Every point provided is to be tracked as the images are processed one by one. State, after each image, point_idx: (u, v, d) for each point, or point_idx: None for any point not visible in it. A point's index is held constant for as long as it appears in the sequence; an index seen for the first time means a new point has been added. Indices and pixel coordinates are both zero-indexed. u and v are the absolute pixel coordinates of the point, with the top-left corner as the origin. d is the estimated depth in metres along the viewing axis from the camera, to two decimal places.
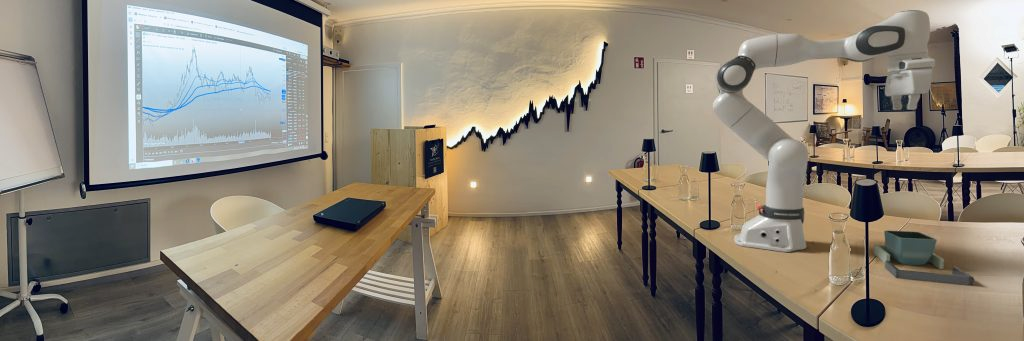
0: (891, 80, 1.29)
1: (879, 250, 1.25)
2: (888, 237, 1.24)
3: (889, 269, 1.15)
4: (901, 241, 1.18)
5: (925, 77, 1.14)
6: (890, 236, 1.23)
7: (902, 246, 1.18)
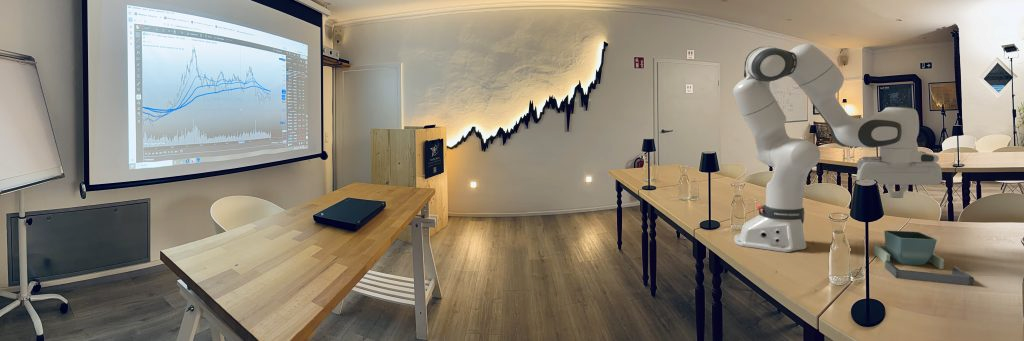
0: (875, 169, 1.30)
1: (879, 250, 1.25)
2: (888, 237, 1.24)
3: (889, 269, 1.15)
4: (901, 241, 1.18)
5: None
6: (890, 236, 1.22)
7: (902, 246, 1.18)
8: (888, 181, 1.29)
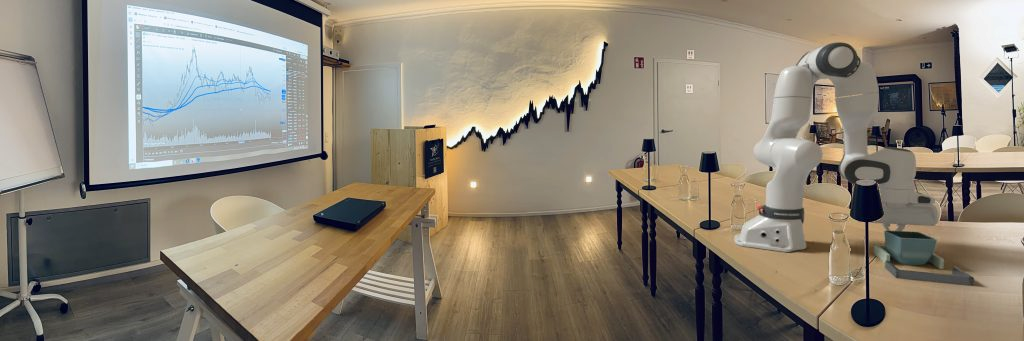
0: None
1: (879, 250, 1.25)
2: (888, 237, 1.24)
3: (889, 269, 1.15)
4: (901, 241, 1.18)
5: None
6: (890, 236, 1.23)
7: (902, 246, 1.18)
8: (885, 220, 1.31)
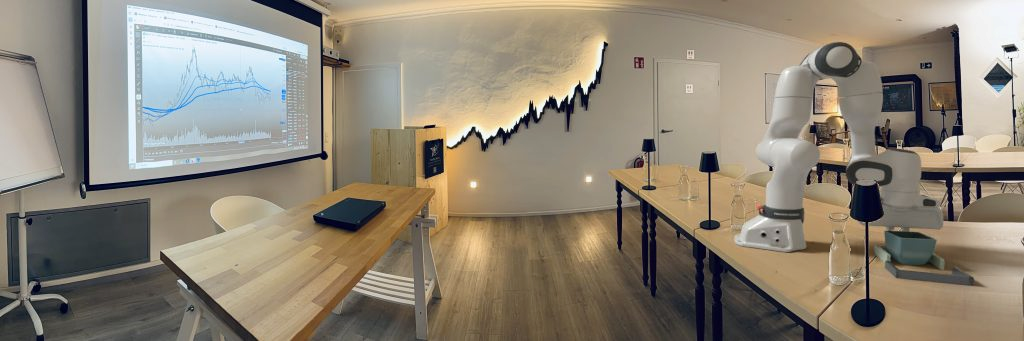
0: None
1: (879, 250, 1.25)
2: (888, 237, 1.24)
3: (889, 269, 1.15)
4: (901, 241, 1.18)
5: None
6: (890, 236, 1.23)
7: (902, 246, 1.18)
8: (889, 224, 1.28)
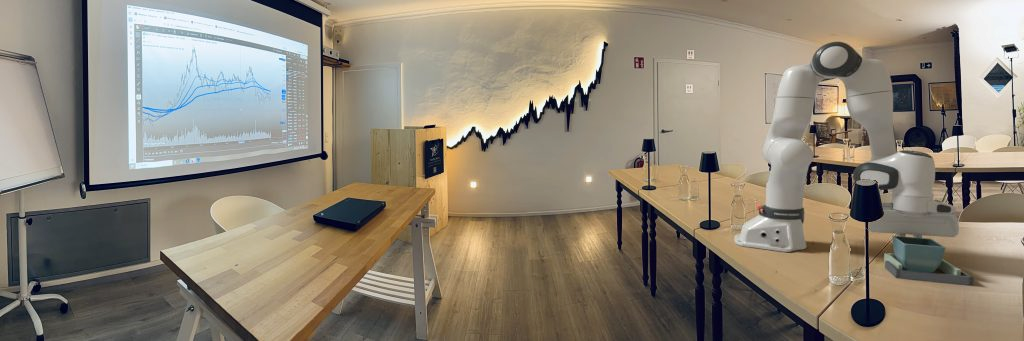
0: (887, 217, 1.21)
1: (890, 259, 1.17)
2: (895, 243, 1.18)
3: (889, 269, 1.15)
4: (905, 247, 1.13)
5: None
6: (897, 242, 1.17)
7: (907, 253, 1.13)
8: (900, 230, 1.20)
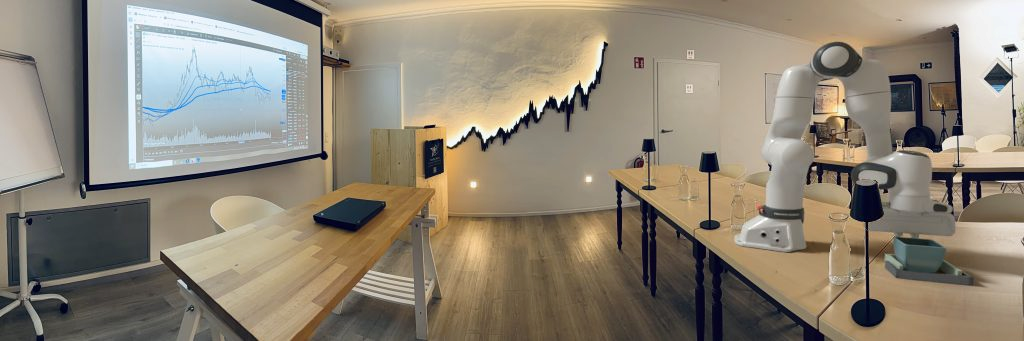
0: (884, 216, 1.23)
1: (891, 260, 1.17)
2: (896, 243, 1.17)
3: (889, 269, 1.15)
4: (906, 248, 1.12)
5: None
6: (897, 242, 1.16)
7: (908, 254, 1.12)
8: (897, 229, 1.21)
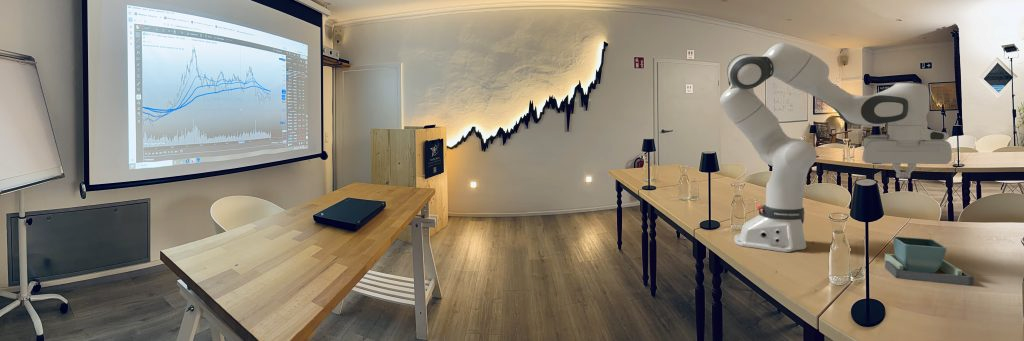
0: (882, 148, 1.26)
1: (891, 260, 1.17)
2: (896, 243, 1.17)
3: (889, 269, 1.15)
4: (906, 248, 1.12)
5: None
6: (897, 242, 1.16)
7: (908, 254, 1.12)
8: (895, 160, 1.25)
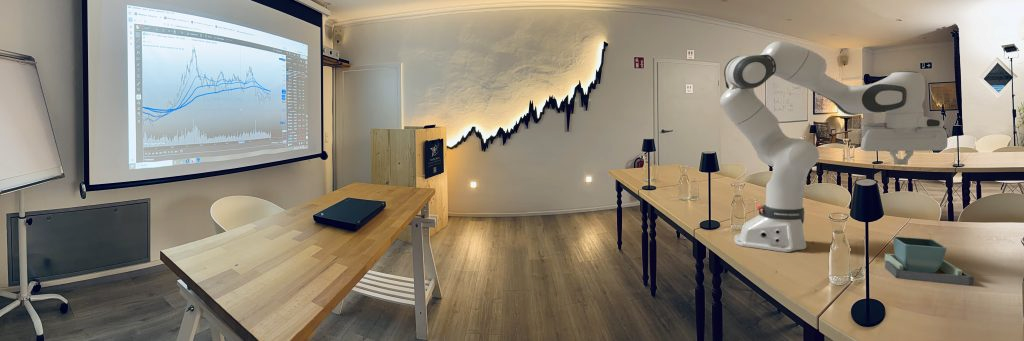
0: (880, 135, 1.29)
1: (891, 260, 1.17)
2: (896, 243, 1.17)
3: (889, 269, 1.15)
4: (906, 248, 1.12)
5: None
6: (897, 242, 1.16)
7: (908, 254, 1.12)
8: (893, 147, 1.28)
